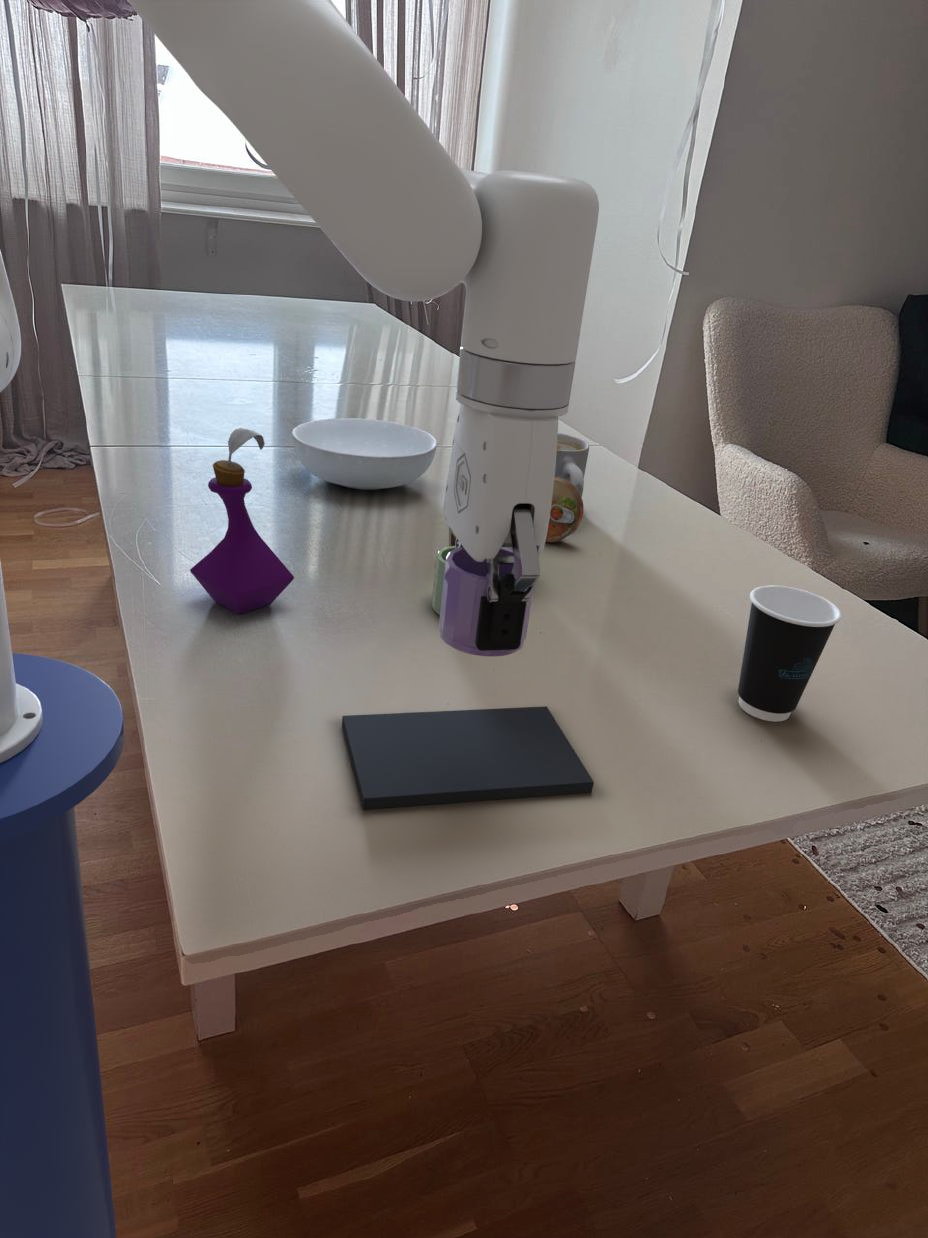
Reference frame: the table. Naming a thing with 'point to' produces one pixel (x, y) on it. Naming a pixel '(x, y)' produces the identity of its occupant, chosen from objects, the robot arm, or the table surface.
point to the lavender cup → (469, 601)
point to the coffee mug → (571, 460)
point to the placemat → (461, 756)
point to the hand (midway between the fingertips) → (483, 622)
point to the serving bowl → (363, 452)
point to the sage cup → (439, 578)
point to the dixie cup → (782, 648)
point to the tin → (564, 510)
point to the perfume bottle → (240, 544)
